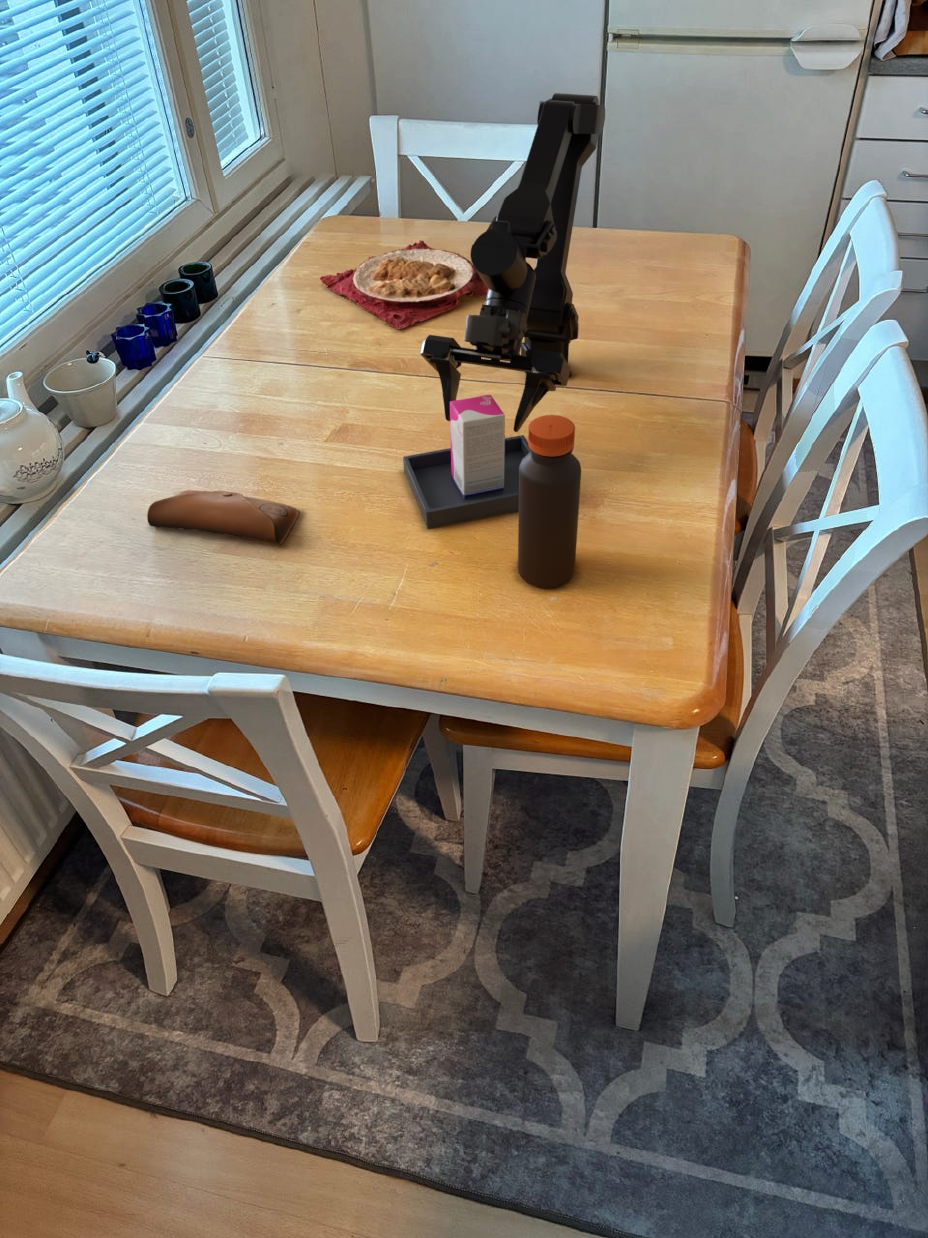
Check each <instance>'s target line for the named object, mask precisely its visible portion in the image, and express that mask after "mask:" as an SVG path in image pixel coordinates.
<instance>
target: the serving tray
mask: <svg viewBox="0 0 928 1238" xmlns="http://www.w3.org/2000/svg"><path fill="white" fill-rule="evenodd" d="M529 453H530V451H529V444H528V439H527V438H526V436H525V434H521V435H516V436H510V437H505V453H504V490H503V491H500V492H496V493H491V494H486V495H481V496H476V497H472V498H467V499H464V498H463V497H462V495H461V493H460V491H459V490H458V488H457V486H456V484H455V482H454V481H453V479H452V476H451V447H450V448H442V449H438V450H433V451H432V450H431V451H427V452H422V453H416V454H411V455H404V456H402V462H403V463H402V464H403V473H404V476H405V478H406V481H407V483H408V485H409V489H410V491H411V492H412V495H413V497H414V500H415V503H416V505H417V507H418V509H419V512H420V514H421V517H422V519H423V522H424V525H425V527H426V530H429V529H434V528H440V527H444V526H449V525H454V524H460V523H465V522H470V521H475V520H480V519H486V518H491V517H497V516H501V515H506V514H510V513H511V514H512V513H516V512H519V466H520V464H521V461H522V459H523V458H524V457H525V456H526V455H527V454H529Z"/></svg>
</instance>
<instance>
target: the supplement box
mask: <svg viewBox="0 0 928 1238" xmlns="http://www.w3.org/2000/svg"><path fill="white" fill-rule="evenodd" d="M449 426H450V427H449V428H450V430H449V431H450V448H451V476H452V479H453V481H454V482H455V484H456V486H457V488H458V490H459V491H460V493H461V495H462V497H463V498H464V499H467V498H472V497H476V496H481V495H486V494H491V493H496V492H500V491H503V490H504V453H505V438H506V415H505V412H504V411H503V410H502V408H501V407H500V406H499V404H498V403H497V401H496V400H495V399H494V397H493V396H492V394H485V395H479V396H475V397H468V398H463V399H456V400H455V401H450V421H449Z"/></svg>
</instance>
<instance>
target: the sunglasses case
mask: <svg viewBox="0 0 928 1238" xmlns="http://www.w3.org/2000/svg"><path fill="white" fill-rule="evenodd" d="M300 514H301V512H300V510H299V509H298V508H296V507H293V506H291V505H288V504H285V503H281V502H277V501H272V500H268V499H262V498H257V497H250V496H244V495H243V494H242V493H240V492H234V491H227V490H213V491H212V490H211V491H210V490H198V489H197V490H196V489H195V490H194V489H187V490H184V491H180V492H179V493H178V494H176V495H174V496H170V497H166V498H163V499H159V500H155V501H154V502H152V503H151V504H150V505H149V506H148V509H147V515H146V518H147V523H148V525H149V526H150V527H153V528H162V529H175V530H185V531H198V532H203V533H209V534H216V535H225V536H231V537H236V538H243V539H249V540H255V541H261V542H267V543H273V544H274V543H275V544H276V543H277V544H279V545H283V544H284V543H285V541H286V540H287V538H288V537H289V536H290V533H292V532H291V531H293V528H294V527H295V524H296V522H297V521H298V519H299V517H300Z"/></svg>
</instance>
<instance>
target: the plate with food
mask: <svg viewBox="0 0 928 1238" xmlns="http://www.w3.org/2000/svg"><path fill="white" fill-rule="evenodd" d="M319 280H320V281H321V282H322V284H324V285H325V286H326V287H327V289H329V290H331V291H333V292H334V293H335V294H337V295H339V296H344V297H345V298H346V299H348V300H349V301H353V302H354V303H355V304H357V306H359V307H361V308H363V309H364V310H365V311H366V312H370V313H371V314H374V315H375V317H376V318H377V319H379V320H382V321H383V322H385V323H386V324H388V325H389V326H390V327H392V328H394V329H395V330H400V329H401V330H404V328H406V327H409V326H414V324H415V323H416V322H419V323H422V322H423V321H427V320H429V319H430V318H432V317H433V318H434V317H435V316H437V315H439V314H442V313H444V312H448V311H451V310H453V309H455V308H456V307H457V306H458V305H459V304H460V303H461V300H459V299H458V298H459V297H461V296H462V295H464V294H465V297H467V298H471V297H473V295H474V292H475V295H476V296H477V297H480V296H482V295H487V293H488V287H487V286H486V285H485V284H484V282H483V281H482V279H481V277H480V276H479V274H478V272H477V271H476V269H475V267H474V266H473V264H472V261H471V260H469V259H468V258H467V257H465V256H464V255H461V254H459V253H457V252H454V251H450V250H446V249H436V248H433V247H431V246H429V245H427V243H425V241H424V240H421V239H420V240H419V241H418V242H417V241H415V242H414V243H413V244H409V245H407V246H405V247H404V248H401V249H399V248H398V249H395V250H391V251H388V252H384V253H383V254H379V255H375V256H374V255H372V256H368V259H367V260H365V261H363V262H361V263H360V264H359V265H358V267H357V268H355V269H352V268H351V269H346V271H343V272H336V275H334V274H328V275H321V276H320V277H319ZM476 287H478V288H476ZM394 315H396V316H399V317H398V318H395V317H394Z"/></svg>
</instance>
